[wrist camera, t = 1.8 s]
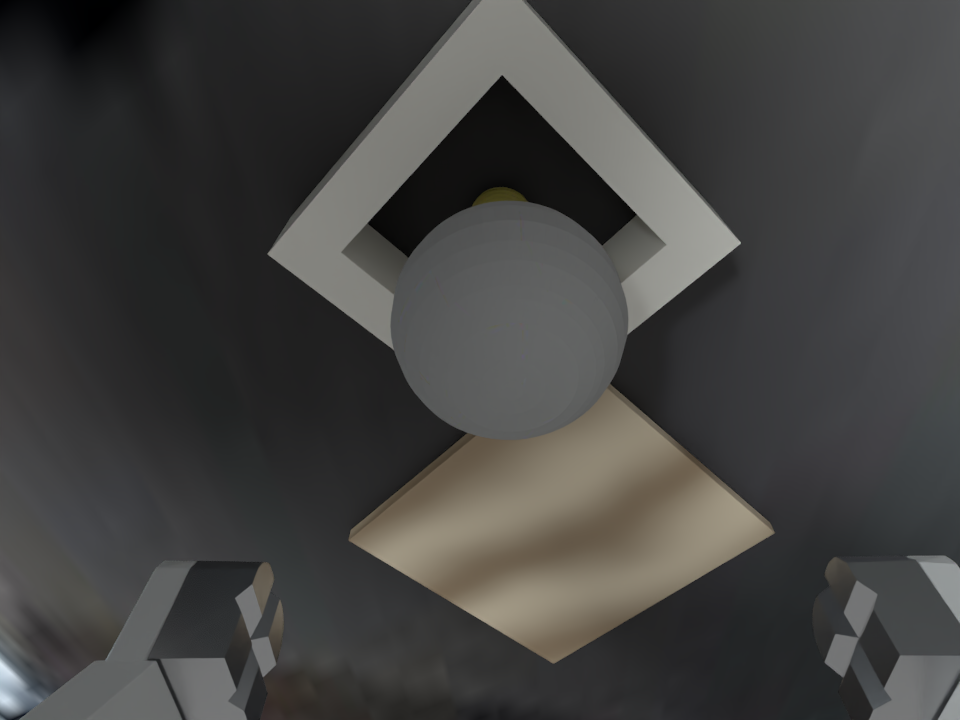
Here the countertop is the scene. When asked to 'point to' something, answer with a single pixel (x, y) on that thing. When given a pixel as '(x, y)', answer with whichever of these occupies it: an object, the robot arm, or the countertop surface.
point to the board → (563, 526)
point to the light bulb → (509, 319)
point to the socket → (430, 118)
